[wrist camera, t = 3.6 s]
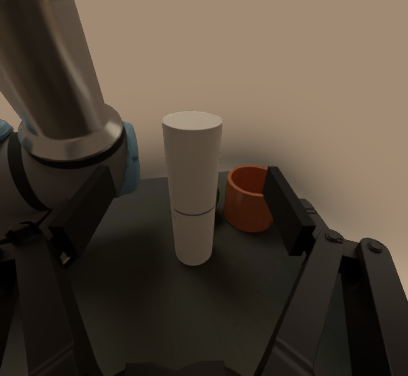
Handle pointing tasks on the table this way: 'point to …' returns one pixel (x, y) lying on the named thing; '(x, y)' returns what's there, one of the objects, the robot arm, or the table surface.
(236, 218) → the crock
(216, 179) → the cylindrical container
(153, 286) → the table surface
